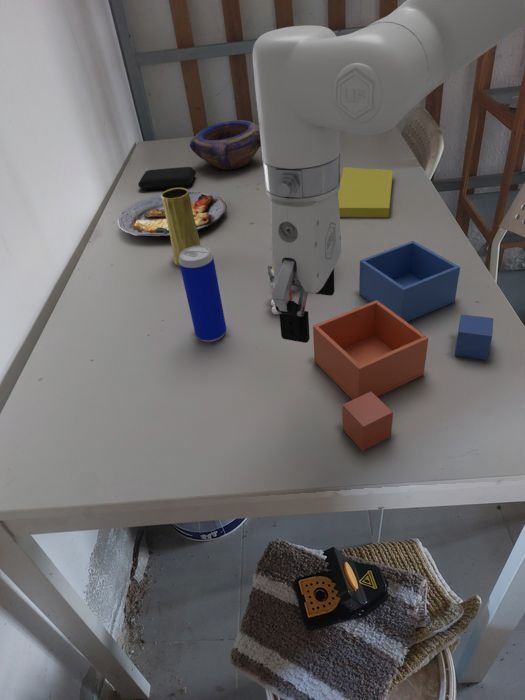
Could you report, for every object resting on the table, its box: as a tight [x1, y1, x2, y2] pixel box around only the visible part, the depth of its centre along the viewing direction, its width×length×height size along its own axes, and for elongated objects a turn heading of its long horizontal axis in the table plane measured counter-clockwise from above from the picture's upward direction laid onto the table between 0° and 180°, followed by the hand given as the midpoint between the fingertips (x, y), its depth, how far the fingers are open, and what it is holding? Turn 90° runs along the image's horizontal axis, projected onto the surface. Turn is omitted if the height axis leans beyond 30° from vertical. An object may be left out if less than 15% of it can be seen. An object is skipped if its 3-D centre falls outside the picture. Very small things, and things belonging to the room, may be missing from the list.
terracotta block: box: [341, 391, 394, 451], centre depth 65 cm, size 4×4×4 cm
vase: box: [160, 187, 202, 267], centre depth 102 cm, size 6×6×14 cm
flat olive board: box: [338, 166, 394, 218], centre depth 122 cm, size 12×2×24 cm
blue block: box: [454, 314, 494, 361], centre depth 75 cm, size 4×4×4 cm
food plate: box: [116, 191, 228, 237], centre depth 121 cm, size 25×23×4 cm
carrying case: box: [137, 166, 197, 191], centre depth 140 cm, size 11×3×15 cm
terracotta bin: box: [312, 300, 429, 400], centre depth 73 cm, size 11×11×7 cm
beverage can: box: [179, 245, 227, 343], centre depth 81 cm, size 5×5×15 cm
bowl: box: [189, 119, 261, 171], centre depth 144 cm, size 18×18×10 cm
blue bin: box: [358, 240, 461, 323], centre depth 86 cm, size 11×11×7 cm
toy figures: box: [267, 265, 296, 316], centre depth 89 cm, size 12×4×8 cm, turn 171°
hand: (309, 315), depth 62 cm, fingers open, 9 cm apart
